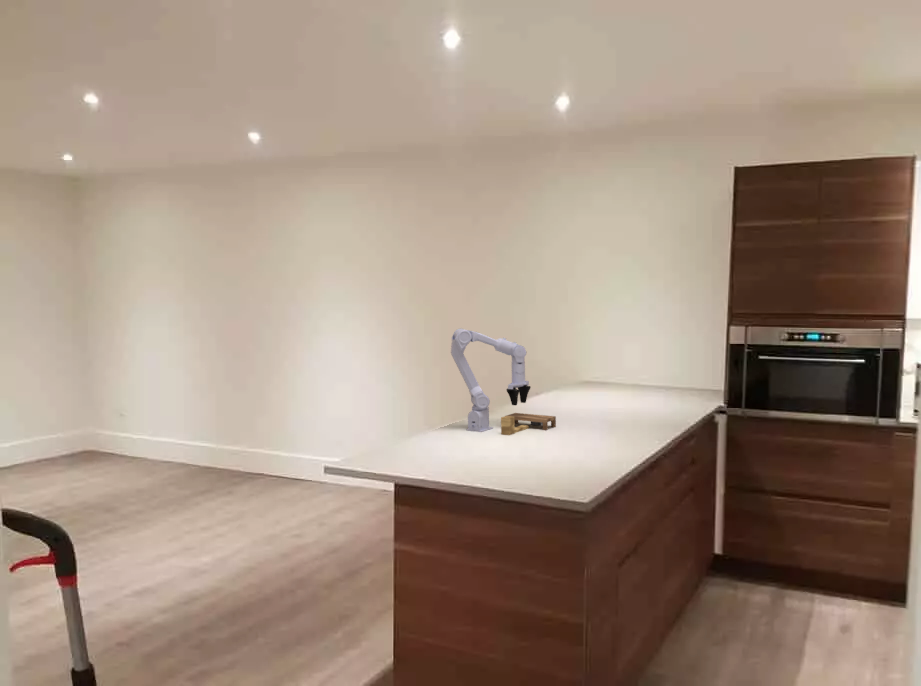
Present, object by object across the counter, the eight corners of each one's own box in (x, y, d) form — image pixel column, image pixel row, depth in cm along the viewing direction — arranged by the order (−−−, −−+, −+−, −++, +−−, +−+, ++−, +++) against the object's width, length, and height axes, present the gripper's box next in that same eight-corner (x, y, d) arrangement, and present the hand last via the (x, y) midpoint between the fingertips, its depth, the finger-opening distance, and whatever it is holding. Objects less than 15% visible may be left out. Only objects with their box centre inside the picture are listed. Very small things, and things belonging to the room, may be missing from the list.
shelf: (545, 430, 314) (545, 419, 313) (505, 426, 325) (504, 415, 325) (555, 426, 321) (555, 416, 321) (515, 422, 332) (515, 412, 332)
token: (540, 426, 325) (540, 421, 325) (530, 425, 328) (530, 420, 328) (546, 424, 329) (546, 419, 329) (536, 423, 332) (536, 418, 332)
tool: (509, 435, 305) (509, 418, 305) (501, 434, 307) (501, 417, 307) (530, 428, 319) (529, 412, 319) (521, 427, 321) (521, 411, 321)
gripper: (517, 374, 313) (518, 406, 314) (534, 371, 325) (535, 402, 326) (503, 374, 317) (504, 405, 318) (520, 370, 329) (521, 401, 330)
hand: (518, 403), depth 323 cm, fingers open, 7 cm apart
